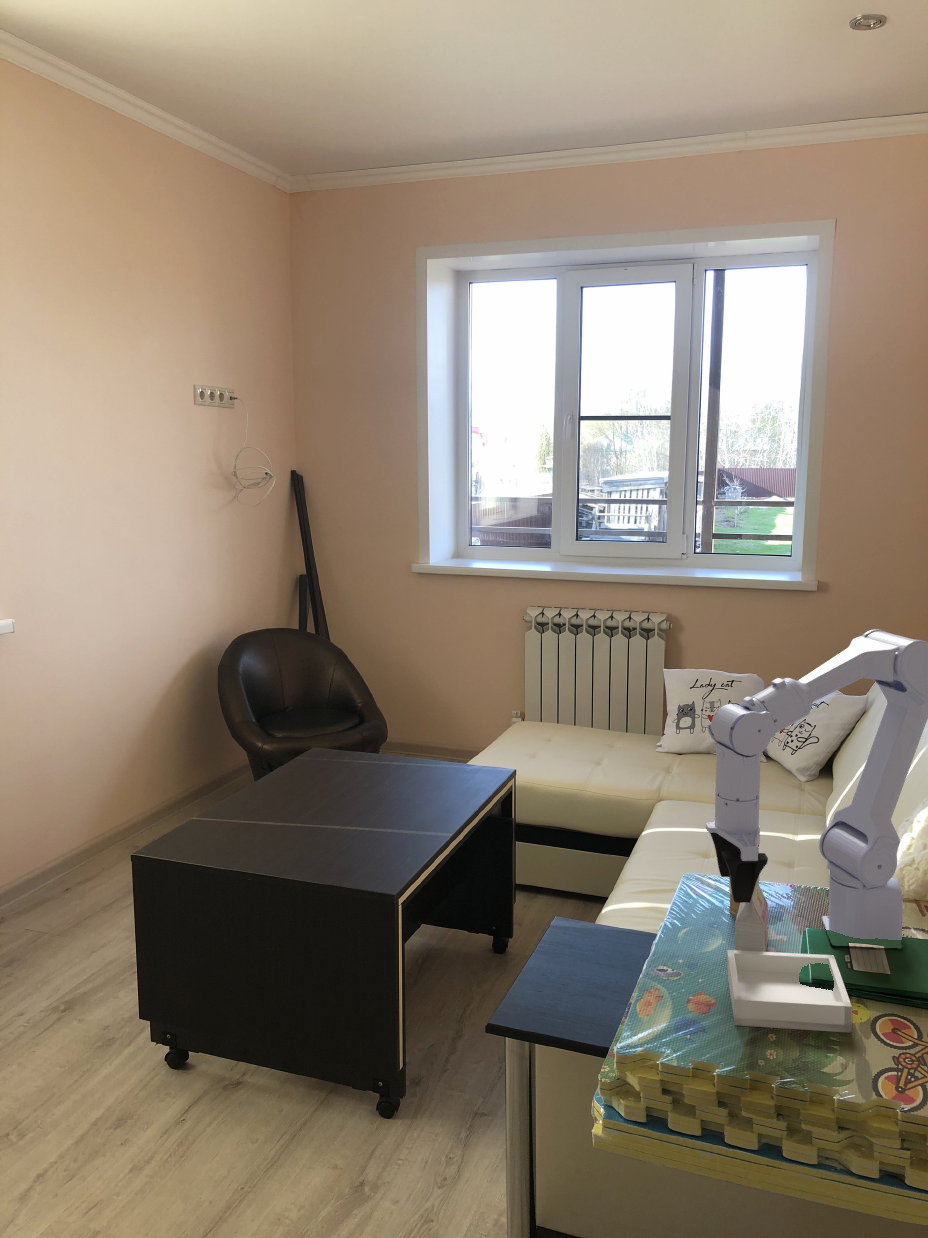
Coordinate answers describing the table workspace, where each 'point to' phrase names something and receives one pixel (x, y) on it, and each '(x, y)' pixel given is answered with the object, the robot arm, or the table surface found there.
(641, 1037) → the table surface
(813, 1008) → the bin
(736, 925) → the white gable-top carton
